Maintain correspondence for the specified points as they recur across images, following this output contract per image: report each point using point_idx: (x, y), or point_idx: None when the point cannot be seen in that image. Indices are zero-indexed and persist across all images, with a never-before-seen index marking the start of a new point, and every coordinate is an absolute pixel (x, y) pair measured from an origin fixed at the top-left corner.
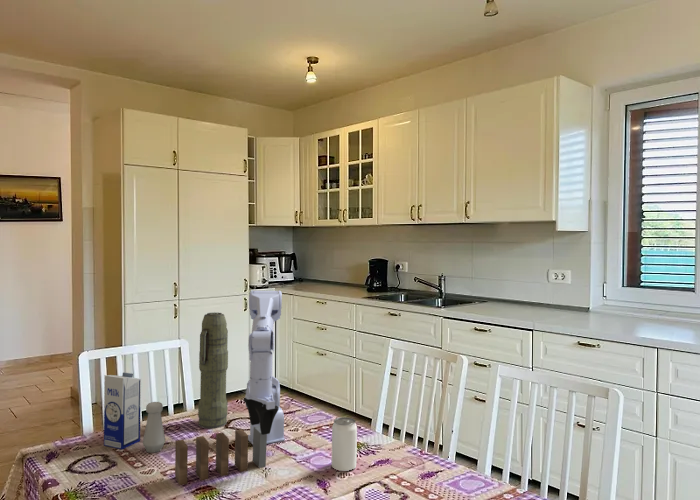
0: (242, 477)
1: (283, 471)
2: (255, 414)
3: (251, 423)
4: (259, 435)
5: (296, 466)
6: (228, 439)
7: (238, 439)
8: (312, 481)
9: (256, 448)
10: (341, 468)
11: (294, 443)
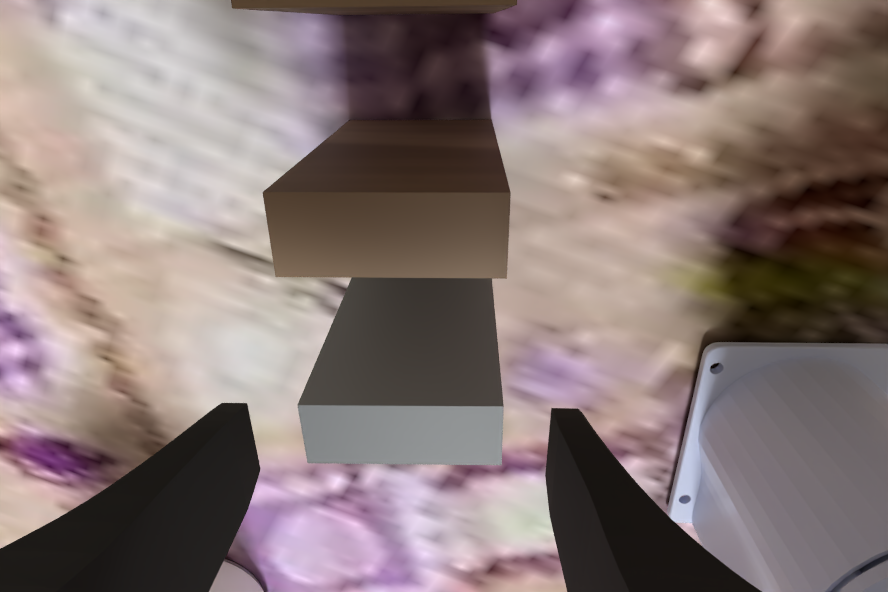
0: (260, 103)
1: (258, 358)
2: (573, 536)
3: (553, 416)
4: (328, 383)
5: (296, 436)
6: (232, 1)
7: (378, 173)
8: (91, 431)
9: (412, 307)
10: None
11: None
